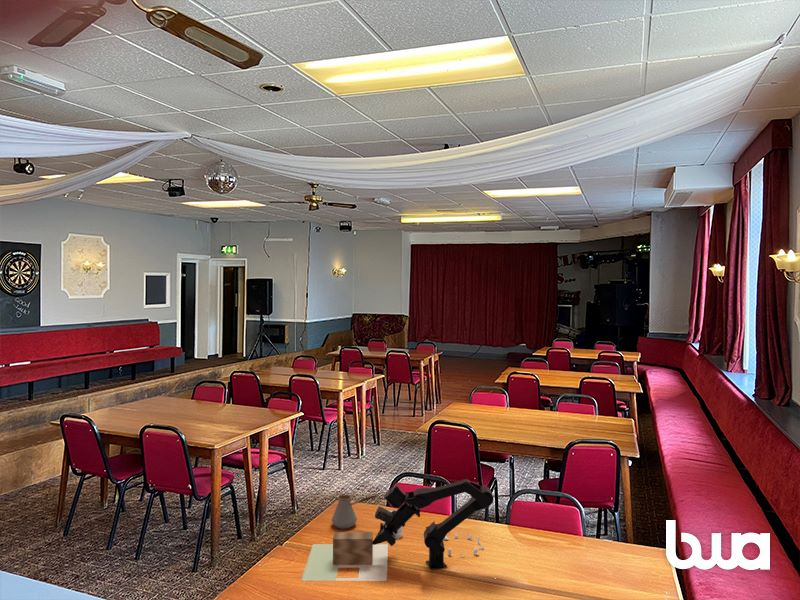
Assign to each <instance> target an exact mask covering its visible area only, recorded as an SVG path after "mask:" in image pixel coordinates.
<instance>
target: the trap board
mask: <svg viewBox="0 0 800 600" xmlns="http://www.w3.org/2000/svg"><path fill="white" fill-rule="evenodd" d="M388 550H389V543H388V544H387V543H386V544H385V543H379V544H376V545H373V561H372V565H333V543H329V544H328V543H324V544H323V543H313V544H312V546H311V549H310V551H309V555H308V559H307V561H306V564H305V567H304V571H303V574H302V577H301V582H304V581H305V582H360V581H361V582H363V581H364V582H374V581H375V582H384V581H385V582H386V581H388V557H389V556H388V554H389V551H388ZM340 568H342V569H343V568H346V569H347V568H351V569H352V568H354V569H355V568H358V569H359V570H358V577H338V571H339V569H340Z"/></svg>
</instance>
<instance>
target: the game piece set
mask: <svg viewBox="0 0 800 600" xmlns="http://www.w3.org/2000/svg"><path fill="white" fill-rule="evenodd" d="M465 533H466V536H465V537H466V539H467V540H470V541H471V540H473V537H472V536H473V535H469V533H468V532H467V531H466V532H465ZM453 538H454V539H459V534H458V533H455V534H454V536H453ZM443 540H444V541H447V540H449V537H448V536H447V535H446V536H445V538H444V539H443ZM475 542H476V543H475V544H476V545H478V546H480V548H477V547H475V548H474V549H473V551H472V553H473V554H474V556H476V555H477V553H478V552H479V550H485V547H484V546H481V544H482V540H480V536H479V535H478V536H477V540H476V541H475ZM447 550H448V551H447V554H448V556H451V555H452V548H450V547H449V548H448V549H447ZM459 556H461V558H466V556H465V555H464V554H463V555H462V554H461V553H460V554H459Z"/></svg>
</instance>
